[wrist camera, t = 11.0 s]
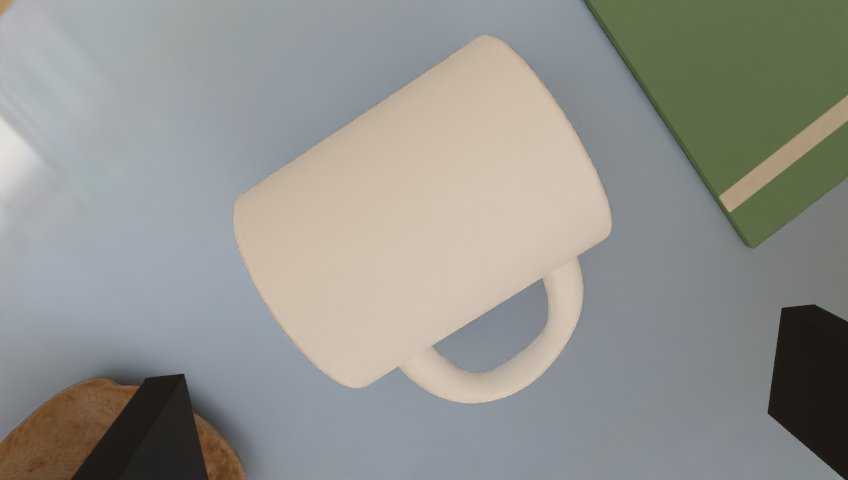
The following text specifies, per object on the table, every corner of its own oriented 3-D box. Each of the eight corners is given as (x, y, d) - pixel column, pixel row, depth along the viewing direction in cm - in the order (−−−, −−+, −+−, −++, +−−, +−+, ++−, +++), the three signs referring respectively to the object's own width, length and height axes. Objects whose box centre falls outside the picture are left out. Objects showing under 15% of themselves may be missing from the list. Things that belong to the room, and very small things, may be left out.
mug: (256, 177, 22) (198, 235, 14) (465, 37, 21) (522, 20, 14) (415, 386, 26) (436, 520, 18) (598, 274, 25) (701, 365, 17)
